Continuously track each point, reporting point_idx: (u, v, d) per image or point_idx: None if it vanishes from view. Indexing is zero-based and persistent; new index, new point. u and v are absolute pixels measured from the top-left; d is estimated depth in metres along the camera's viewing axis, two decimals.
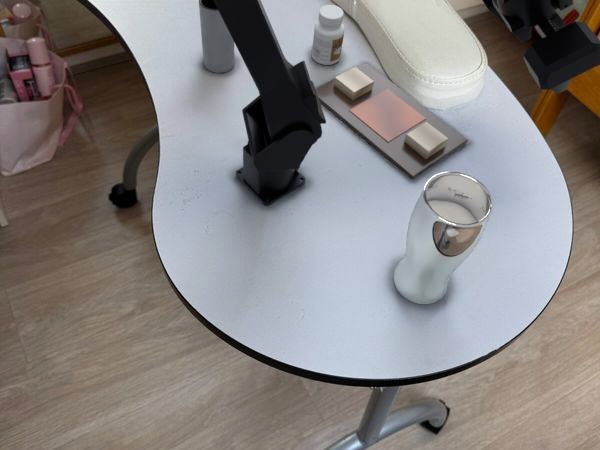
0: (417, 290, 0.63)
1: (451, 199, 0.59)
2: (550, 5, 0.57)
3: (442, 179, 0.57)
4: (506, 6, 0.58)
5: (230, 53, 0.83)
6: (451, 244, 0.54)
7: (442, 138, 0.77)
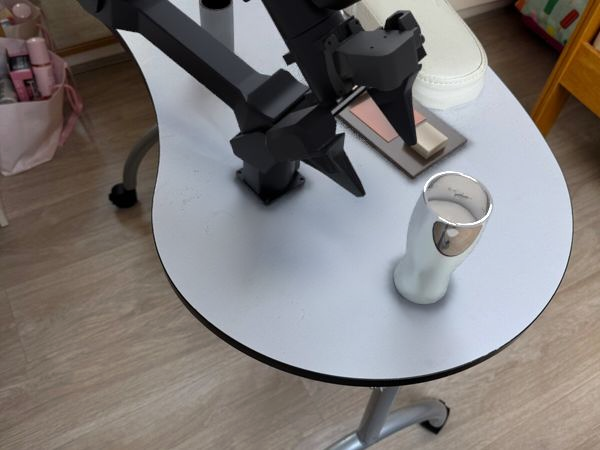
0: (417, 290, 0.63)
1: (451, 199, 0.59)
2: (328, 85, 0.52)
3: (442, 179, 0.57)
4: None
5: None
6: (451, 244, 0.54)
7: (442, 138, 0.77)
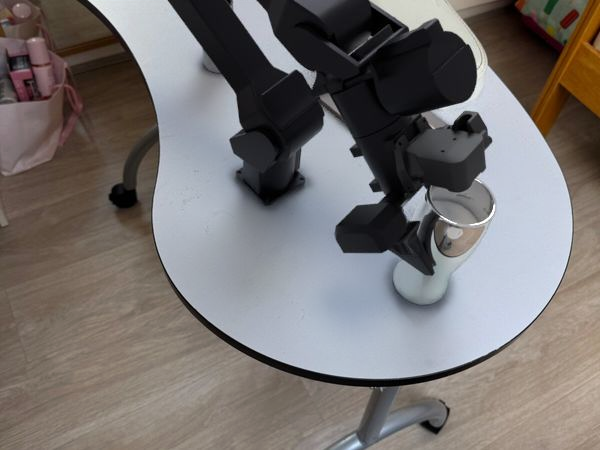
0: (417, 290, 0.63)
1: (453, 200, 0.59)
2: (396, 180, 0.54)
3: None
4: None
5: None
6: (454, 244, 0.54)
7: None
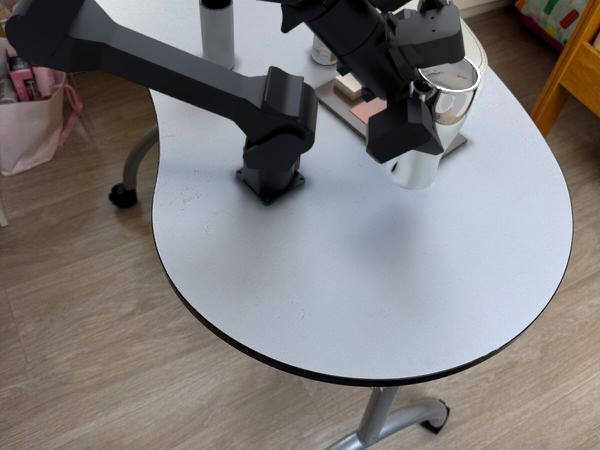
0: (422, 176, 0.67)
1: None
2: (394, 78, 0.56)
3: None
4: (354, 77, 0.58)
5: (230, 53, 0.83)
6: (461, 112, 0.59)
7: None
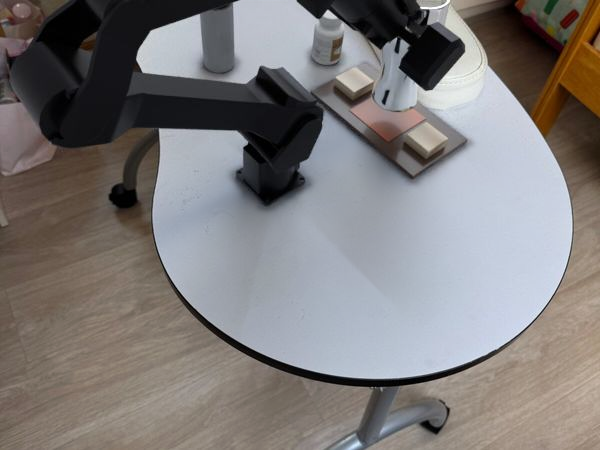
0: (415, 94, 0.75)
1: None
2: (402, 17, 0.62)
3: None
4: (367, 33, 0.63)
5: (230, 53, 0.83)
6: None
7: (442, 138, 0.77)
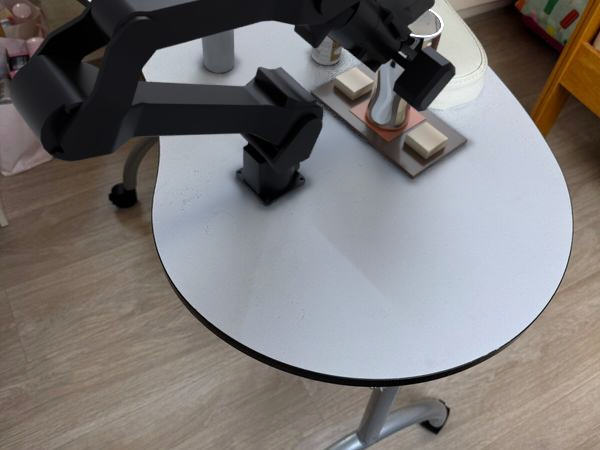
0: (407, 112, 0.78)
1: None
2: (395, 41, 0.65)
3: None
4: (361, 57, 0.66)
5: (230, 53, 0.83)
6: (437, 47, 0.71)
7: (442, 138, 0.77)
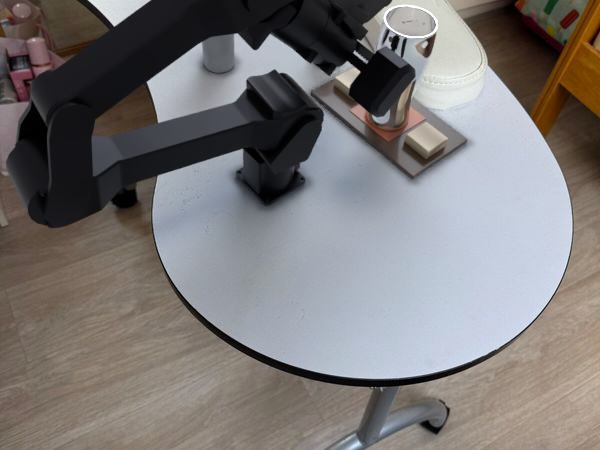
0: (407, 113, 0.78)
1: None
2: (350, 42, 0.60)
3: None
4: (313, 60, 0.60)
5: (230, 53, 0.83)
6: (433, 47, 0.71)
7: (442, 138, 0.77)
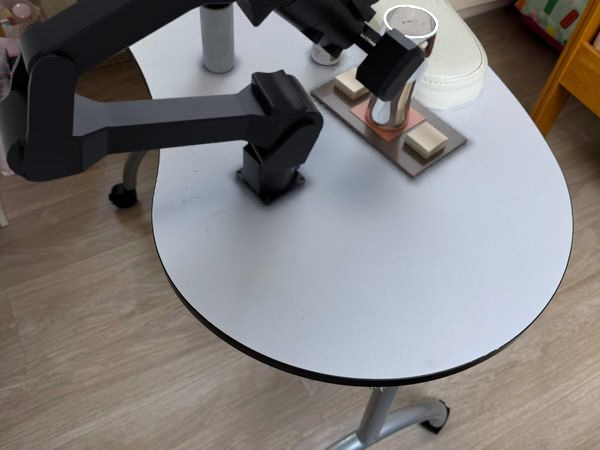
0: (407, 113, 0.78)
1: None
2: (357, 23, 0.58)
3: None
4: (319, 41, 0.58)
5: (230, 53, 0.83)
6: (433, 47, 0.71)
7: (442, 138, 0.77)
